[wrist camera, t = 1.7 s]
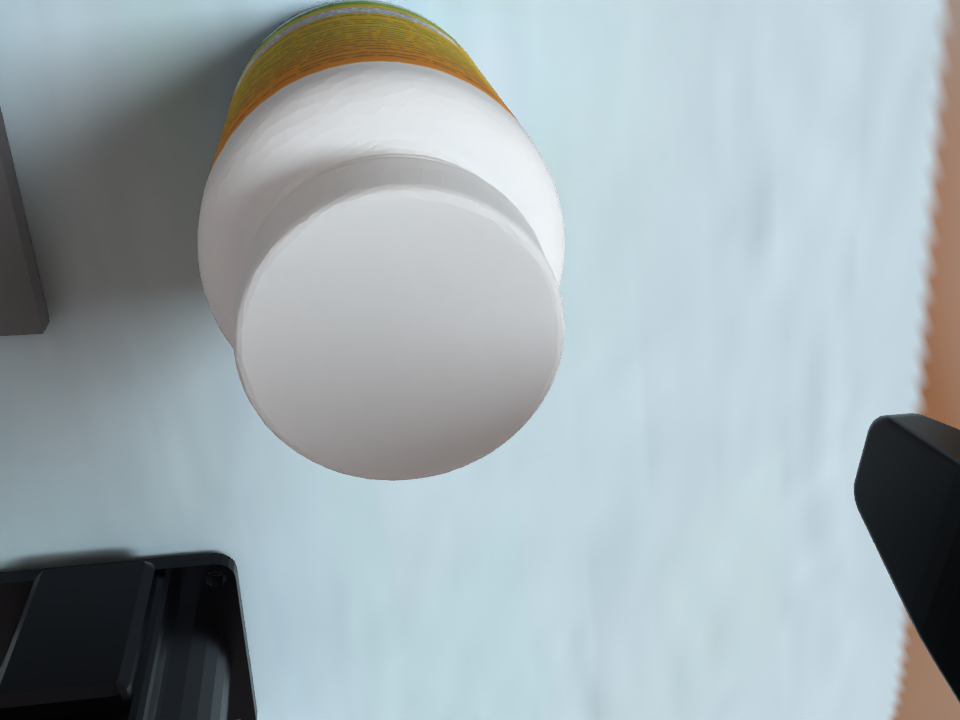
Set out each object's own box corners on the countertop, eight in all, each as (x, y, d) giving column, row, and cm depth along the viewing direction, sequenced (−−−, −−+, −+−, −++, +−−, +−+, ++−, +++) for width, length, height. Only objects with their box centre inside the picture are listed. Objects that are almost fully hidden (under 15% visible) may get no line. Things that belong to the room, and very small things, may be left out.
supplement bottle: (174, 91, 18) (58, 296, 10) (401, -61, 18) (484, 19, 9) (330, 294, 21) (343, 592, 13) (533, 168, 20) (691, 394, 12)
